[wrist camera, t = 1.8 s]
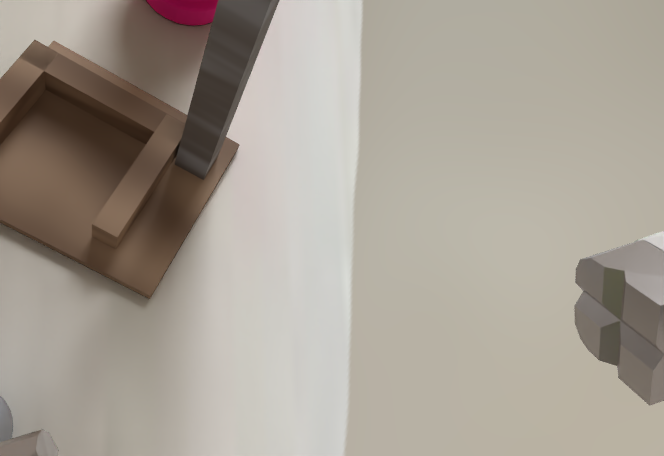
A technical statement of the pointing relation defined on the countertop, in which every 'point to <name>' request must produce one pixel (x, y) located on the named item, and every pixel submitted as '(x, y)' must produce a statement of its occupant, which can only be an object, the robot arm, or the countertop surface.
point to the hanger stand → (120, 150)
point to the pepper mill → (186, 10)
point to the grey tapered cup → (5, 421)
